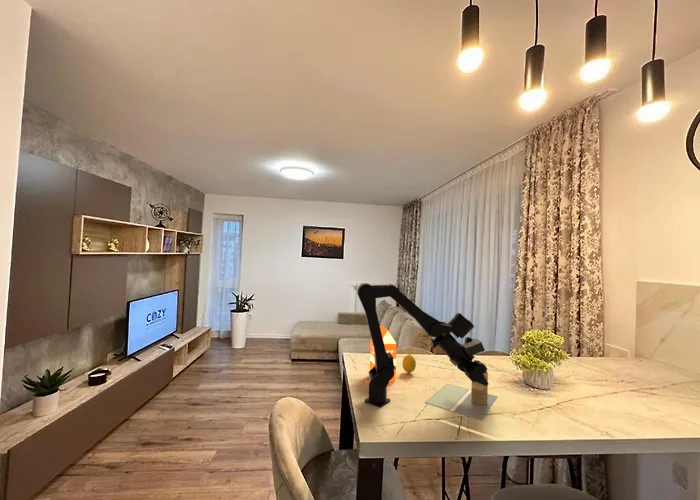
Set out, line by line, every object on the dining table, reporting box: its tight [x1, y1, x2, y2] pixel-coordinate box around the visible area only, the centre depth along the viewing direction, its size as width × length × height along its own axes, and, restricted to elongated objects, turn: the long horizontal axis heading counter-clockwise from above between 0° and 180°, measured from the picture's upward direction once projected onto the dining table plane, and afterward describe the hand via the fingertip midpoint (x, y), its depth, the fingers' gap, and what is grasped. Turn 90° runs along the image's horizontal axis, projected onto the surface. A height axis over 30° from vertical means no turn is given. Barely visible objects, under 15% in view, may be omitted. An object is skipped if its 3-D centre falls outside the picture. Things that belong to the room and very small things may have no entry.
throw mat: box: [424, 383, 499, 421], centre depth 108 cm, size 22×18×1 cm
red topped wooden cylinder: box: [471, 369, 489, 405], centre depth 107 cm, size 5×5×13 cm
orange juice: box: [369, 325, 397, 383], centre depth 128 cm, size 8×9×20 cm
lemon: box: [402, 354, 417, 374], centre depth 134 cm, size 6×6×8 cm
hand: (483, 382), depth 107 cm, fingers closed on red topped wooden cylinder, 5 cm apart
